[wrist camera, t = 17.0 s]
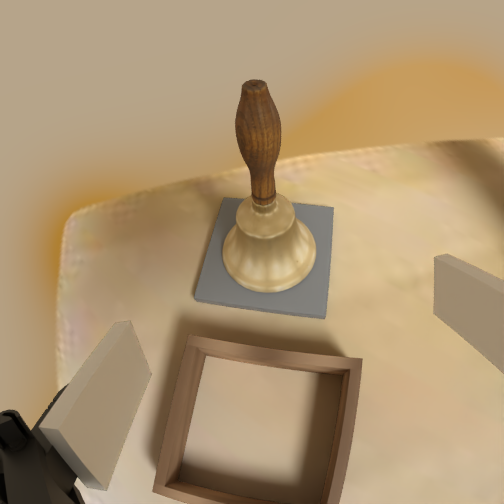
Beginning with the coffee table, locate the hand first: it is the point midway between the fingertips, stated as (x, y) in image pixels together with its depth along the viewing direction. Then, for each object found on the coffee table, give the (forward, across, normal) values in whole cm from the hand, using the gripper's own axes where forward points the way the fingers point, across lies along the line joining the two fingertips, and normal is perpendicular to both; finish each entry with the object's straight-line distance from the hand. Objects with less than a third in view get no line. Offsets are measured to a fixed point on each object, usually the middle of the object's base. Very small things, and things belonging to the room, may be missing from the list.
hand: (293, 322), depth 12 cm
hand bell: (+16, 0, -1) cm, 16 cm away
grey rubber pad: (+16, 0, -2) cm, 17 cm away
